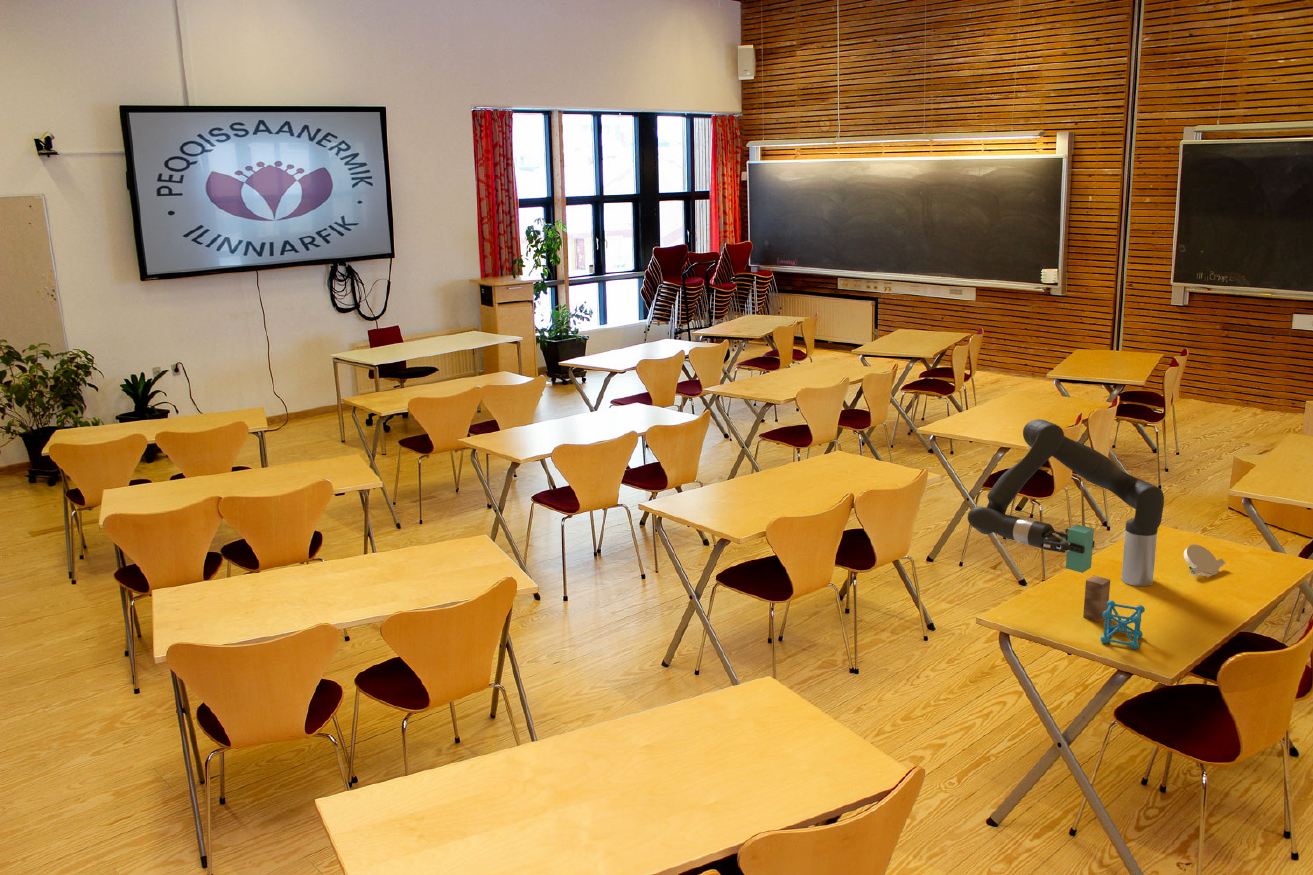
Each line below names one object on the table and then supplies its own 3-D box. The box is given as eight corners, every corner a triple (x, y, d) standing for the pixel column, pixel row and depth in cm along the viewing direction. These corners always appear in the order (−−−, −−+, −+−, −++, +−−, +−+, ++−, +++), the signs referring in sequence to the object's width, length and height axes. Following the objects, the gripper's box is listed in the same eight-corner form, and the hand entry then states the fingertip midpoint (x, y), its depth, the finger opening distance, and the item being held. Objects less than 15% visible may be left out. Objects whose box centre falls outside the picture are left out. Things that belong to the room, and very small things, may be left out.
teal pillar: (1065, 568, 288) (1068, 528, 284) (1074, 563, 291) (1076, 524, 288) (1082, 572, 284) (1085, 533, 281) (1091, 567, 287) (1093, 528, 284)
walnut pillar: (1083, 617, 301) (1085, 580, 298) (1091, 611, 304) (1093, 575, 301) (1099, 622, 297) (1102, 584, 294) (1107, 616, 300) (1110, 579, 297)
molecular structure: (1138, 651, 279) (1141, 618, 276) (1099, 643, 284) (1102, 611, 282) (1142, 636, 287) (1145, 604, 285) (1105, 629, 292) (1107, 598, 290)
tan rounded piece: (1201, 580, 320) (1187, 546, 323) (1180, 585, 327) (1166, 552, 330) (1230, 569, 327) (1216, 537, 330) (1210, 575, 334) (1196, 543, 337)
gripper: (1020, 527, 290) (1077, 541, 278) (1046, 514, 299) (1102, 528, 287) (1019, 551, 292) (1075, 567, 280) (1044, 538, 301) (1100, 552, 289)
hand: (1088, 547), depth 284 cm, fingers closed on teal pillar, 5 cm apart
